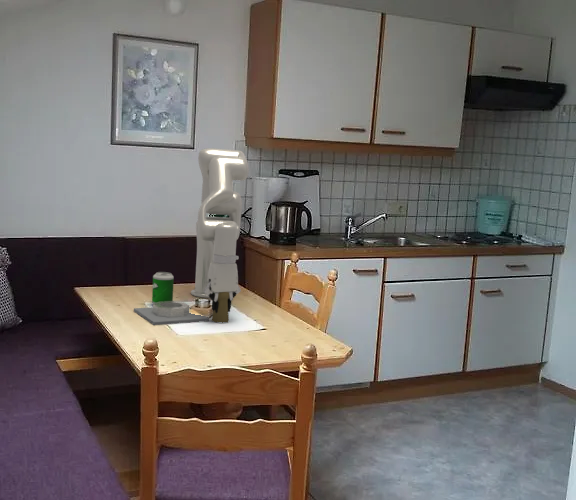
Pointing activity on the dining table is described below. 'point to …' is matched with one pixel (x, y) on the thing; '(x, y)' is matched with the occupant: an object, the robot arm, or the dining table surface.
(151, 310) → the slate board
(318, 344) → the dining table surface
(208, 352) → the dining table surface
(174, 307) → the steel collar
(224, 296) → the cork
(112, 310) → the dining table surface
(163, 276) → the soda can
